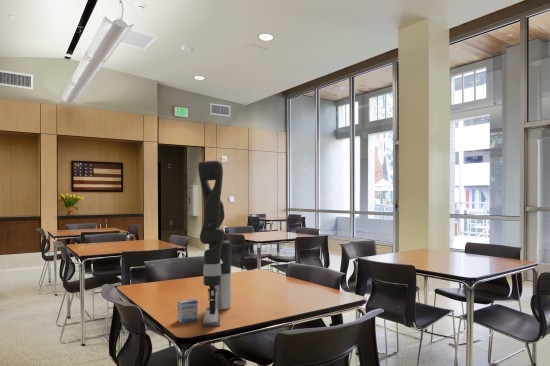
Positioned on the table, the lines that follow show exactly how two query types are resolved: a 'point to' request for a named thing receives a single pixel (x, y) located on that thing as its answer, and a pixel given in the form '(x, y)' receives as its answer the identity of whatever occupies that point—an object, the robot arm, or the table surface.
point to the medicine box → (187, 310)
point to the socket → (211, 315)
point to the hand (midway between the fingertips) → (212, 311)
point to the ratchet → (211, 323)
